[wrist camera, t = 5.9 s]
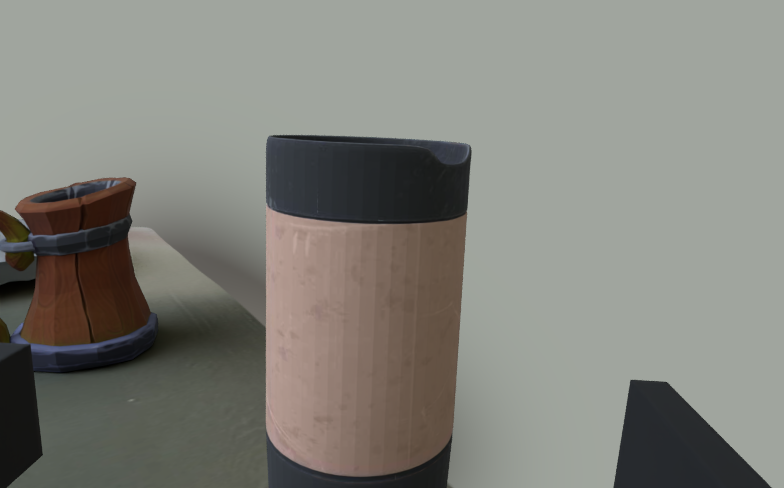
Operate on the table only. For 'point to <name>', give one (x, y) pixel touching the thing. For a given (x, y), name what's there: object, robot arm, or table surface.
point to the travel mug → (362, 309)
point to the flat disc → (5, 273)
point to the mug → (79, 277)
